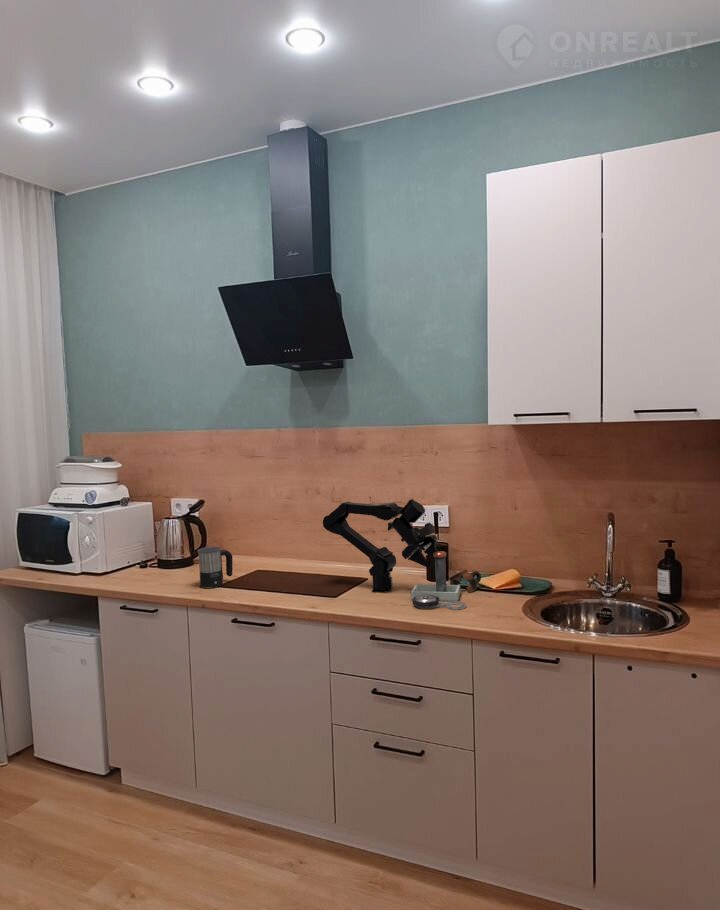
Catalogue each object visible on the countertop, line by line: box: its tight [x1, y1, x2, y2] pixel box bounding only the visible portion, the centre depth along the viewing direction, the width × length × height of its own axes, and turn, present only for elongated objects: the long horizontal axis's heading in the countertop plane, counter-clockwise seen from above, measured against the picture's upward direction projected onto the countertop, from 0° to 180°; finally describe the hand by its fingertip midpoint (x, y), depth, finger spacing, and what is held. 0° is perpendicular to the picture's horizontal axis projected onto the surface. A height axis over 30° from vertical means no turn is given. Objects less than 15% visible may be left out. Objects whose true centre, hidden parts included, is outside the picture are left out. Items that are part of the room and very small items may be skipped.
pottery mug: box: [448, 569, 482, 594], centre depth 244 cm, size 12×10×8 cm
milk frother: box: [197, 546, 233, 588], centre depth 268 cm, size 14×16×15 cm
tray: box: [410, 583, 461, 602], centre depth 235 cm, size 16×10×3 cm, turn 76°
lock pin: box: [434, 550, 447, 592], centre depth 234 cm, size 4×4×15 cm
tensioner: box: [411, 595, 467, 611], centre depth 223 cm, size 18×9×3 cm, turn 76°
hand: (435, 564), depth 235 cm, fingers open, 9 cm apart
